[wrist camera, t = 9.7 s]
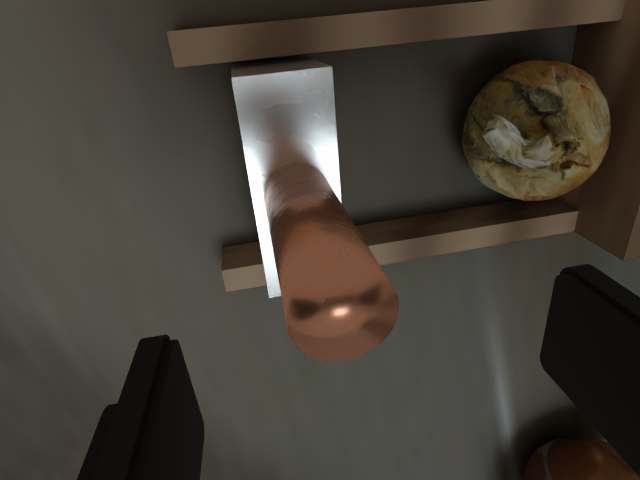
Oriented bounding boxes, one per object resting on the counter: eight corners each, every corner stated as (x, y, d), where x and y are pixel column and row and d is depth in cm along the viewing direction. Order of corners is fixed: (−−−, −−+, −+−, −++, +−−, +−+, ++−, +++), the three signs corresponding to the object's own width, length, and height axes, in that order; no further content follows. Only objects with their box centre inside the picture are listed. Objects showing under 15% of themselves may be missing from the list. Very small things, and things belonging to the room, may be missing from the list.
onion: (463, 203, 29) (537, 259, 22) (423, 98, 25) (498, 125, 18) (563, 147, 28) (671, 187, 21) (537, 31, 25) (660, 33, 18)
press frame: (616, -12, 24) (745, -25, 18) (569, 209, 31) (653, 254, 25) (174, 30, 21) (150, 32, 15) (226, 266, 28) (225, 335, 22)
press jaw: (308, 57, 22) (422, 101, 9) (324, 233, 27) (413, 432, 14) (231, 65, 21) (230, 126, 8) (261, 243, 26) (291, 460, 13)
